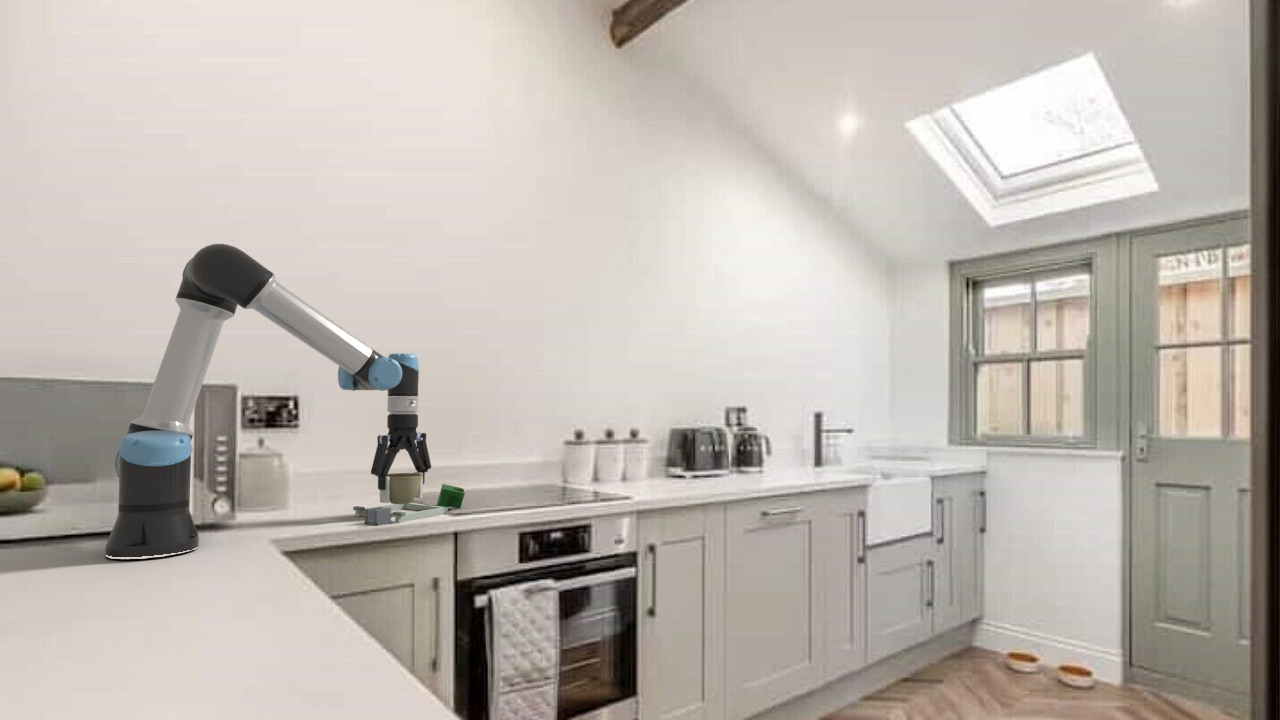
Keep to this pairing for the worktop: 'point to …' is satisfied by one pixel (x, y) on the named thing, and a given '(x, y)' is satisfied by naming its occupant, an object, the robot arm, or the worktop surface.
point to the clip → (378, 516)
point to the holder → (401, 516)
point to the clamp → (450, 496)
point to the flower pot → (404, 487)
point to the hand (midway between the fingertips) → (401, 499)
